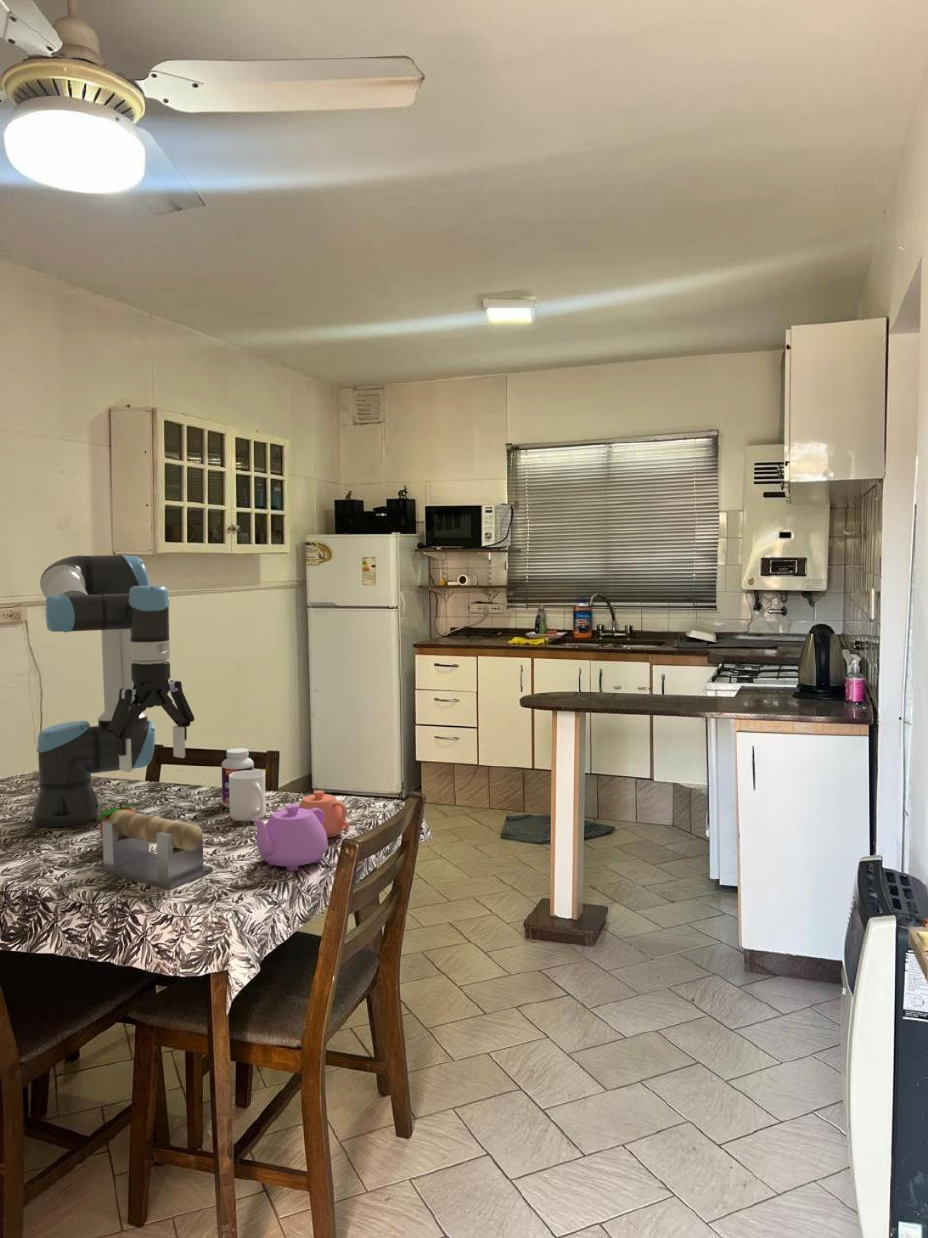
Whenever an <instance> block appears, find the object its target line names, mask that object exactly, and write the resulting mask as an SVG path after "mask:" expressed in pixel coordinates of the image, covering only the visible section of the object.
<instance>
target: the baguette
mask: <svg viewBox="0 0 928 1238" xmlns="http://www.w3.org/2000/svg"><path fill="white" fill-rule="evenodd" d="M109 821H113V822H117V835H121V836H126V837H130V838H135V839H139V840H143V841H148V842H149V843H153V844H157V833H160V832H164V833H169V834H172V846H173V848H174V847H175V848H179V849H183V850H188V851H193V850H195V849H196V848H197V847H198V846H199V845H200V843H201V841H202V836H203V834H204V833H203V829H202V830H201V828H200V827H199V826H197V825H193V824H188V823H189V822H182V821H178V820H172V819H168V818H163V817H158V816H153V815H149V814H148V815H144V814H139V813H134V812H129V811H124V810H117V811H115V812H114V813H113V814H112V815H111V816H110V818H109Z"/></svg>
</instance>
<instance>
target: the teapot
mask: <svg viewBox="0 0 928 1238" xmlns="http://www.w3.org/2000/svg"><path fill="white" fill-rule="evenodd" d="M315 812H317V813H318V818H317V817H316V815H315V814H314V813H315ZM251 820H252V821H251V822H253V823H254V824H255V826H256V839H255V840H256V841H255V842H256V847H257V849H258V850H257V851H258V854H259V855H260V856H261V858H263V860H264V861H266V862H267V865H268V866H279V867H286V871H288V872H296V871H298V870H299V866H304V865H308V864H317V863H319V862H320V859H321V858H322V856H323V855H324V854H325V853H326V851H327V850H328V847H329V844H328V838H327V837H326V836H327V833H326V831H325V830H324V828H323V823H324V813H323V811H322V810H320V809H318V808H311V809H310V810H308V809H302V808H299V804H298V803H297V804H296V803H290V804H287V805H285V809H279V810H277V811H275V812H274V813H272V814H271V816H270V817H269V818H268V820H267V822H266V823H265V822H264V821H263V820H262V819H251Z"/></svg>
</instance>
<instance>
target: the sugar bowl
mask: <svg viewBox="0 0 928 1238" xmlns="http://www.w3.org/2000/svg"><path fill="white" fill-rule="evenodd" d="M298 805H299V808H302V809H308V810H310V809H311V808H318V809H320V810H322V811H323V813H324V823H323V828H324V830H325V831H326V833H327V836H326V837H327V839H328V838H329V839H330V838H333V837H337V836H339V835H340V834H341V833H342V832H344V831H345V832H346V831H347V830H349V828H350V824H349V822H347V818H346V816H347V812H348V811H347V809H348V808H347V806H346V805H345V803H343V802H341V801H338V799H337V798H336V797H335V796H334V795H332V794H329V793H325V791H323V790H314V791H313V794H311V795H307V796H305V797H303V798H302V800H301V801H300V802H299V804H298ZM314 814H315V815H316V817H317V818H318V813H317V812H315V813H314Z"/></svg>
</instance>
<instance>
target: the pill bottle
mask: <svg viewBox="0 0 928 1238" xmlns="http://www.w3.org/2000/svg"><path fill="white" fill-rule="evenodd" d="M249 755H250V754H249V749H248V748H242V747H241V748H239V747H238V748H230V749H228V750H226V759H224V760H223V761H222V763H221V802H222V805H223V807H225V808H226V809H227V808H228V809H230V801H229V775H230V774H231V773H234V772H238V771H245V770H255V766H254V765H255V763H254V759H253V760H252V759H251V757H249Z"/></svg>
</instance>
